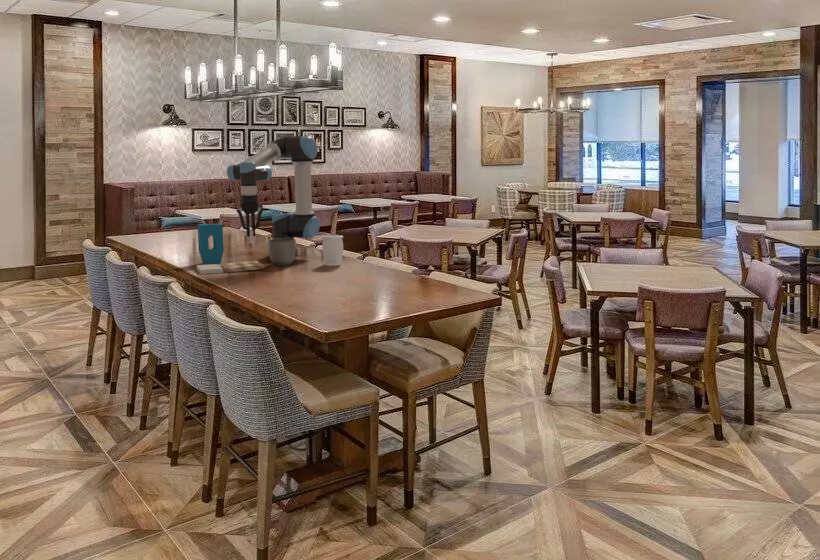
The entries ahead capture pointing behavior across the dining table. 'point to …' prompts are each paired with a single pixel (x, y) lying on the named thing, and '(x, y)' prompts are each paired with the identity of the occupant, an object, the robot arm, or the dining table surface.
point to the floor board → (209, 269)
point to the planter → (282, 251)
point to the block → (203, 234)
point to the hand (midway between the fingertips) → (251, 243)
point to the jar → (332, 249)
